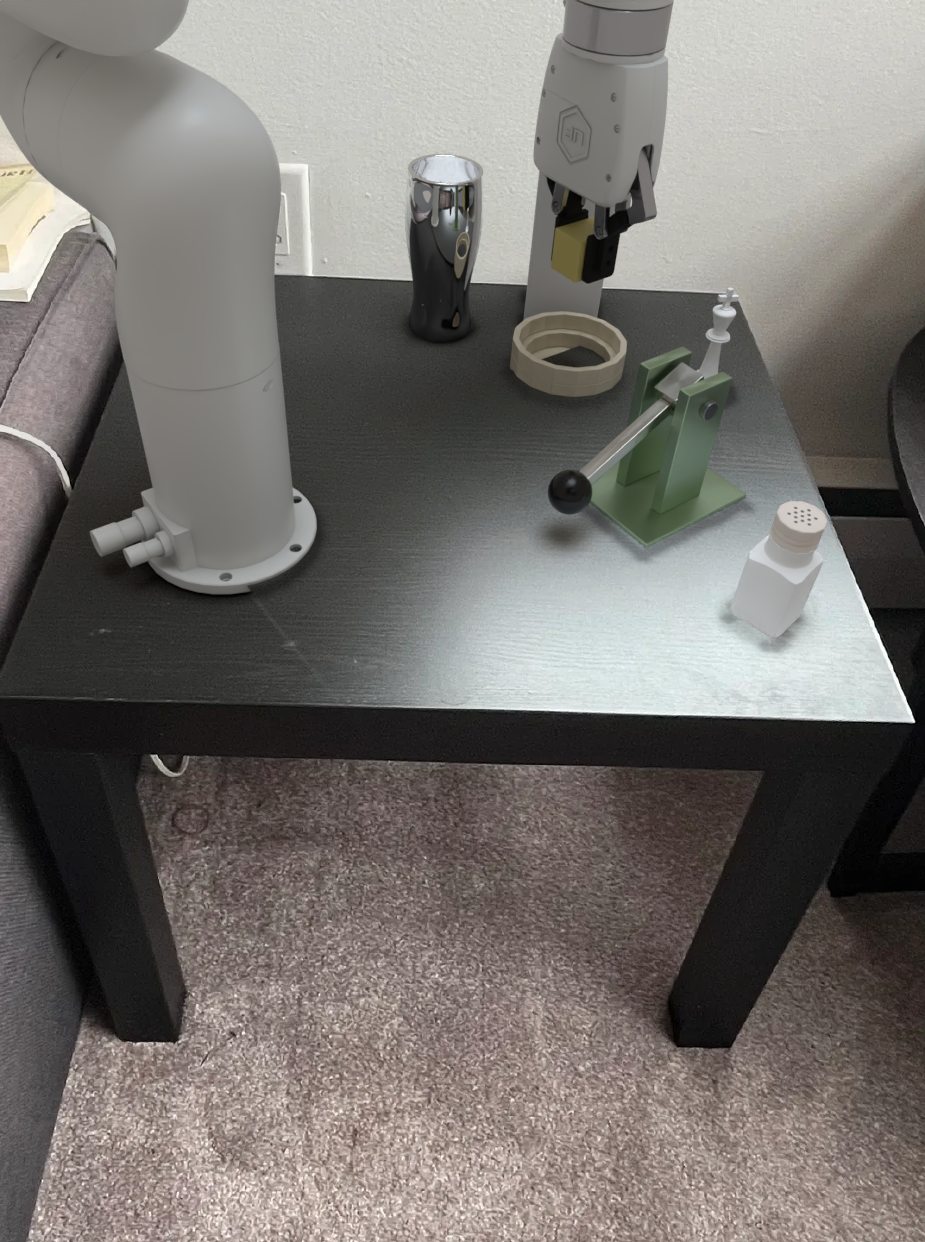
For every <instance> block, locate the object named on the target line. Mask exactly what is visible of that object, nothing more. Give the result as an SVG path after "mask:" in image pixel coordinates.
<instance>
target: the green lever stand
mask: <svg viewBox="0 0 925 1242" xmlns="http://www.w3.org/2000/svg"><path fill="white" fill-rule="evenodd" d="M692 355H693V352H692V351H691V350H690V349H688V348H686V347H685V346H680V347H678V348H675V349H672V350H670V351H667V352H665V353H662V354H660V355H657V356H655V357H652V358H649V359H647V360H645V361H644V360H643V361H642V362H640V363H639V367H638V372H637V375H636V376H637V378H636V381H635V387H634V391H633V395H632V402H631V406H630V411H629V415H628V419H627V424H626V428H627V427H628V426H629V425H630V424H632V423H633V422H634V421H635V420H636V419H637V418H638V417H639V416H640V415H642V414H643V413H644V412H645V411H646V410H647V409H648V408H649V407H650V406H652V405H653V404H654V403H655V402H656V401H657V397H656V393H655V389H654V387H655V386H656V385H657V384H658V383H659V382H660V381H661V380H662V379H663V378H665V377H666V376H667V375H668V374H669V373H670V372H671V371H672V370H673V369H675V368H676V367H677V366H678V365H679V364H680V363H681V362H683V363H684V364H686V365H688V366H689V367H690V362H691V358H692ZM732 382H733V377H732V376H730V375H729V374H728V373H726V372H725V371H721V372H718V374H716V375H713V376H711V377H709V378H706V379H704V380H701V381H699V382H696V383H694V384H692V385H689V386H687V387H684V388H682V389H680V391H679V395H678V399H677V403H676V407H675V411H674V415H673V417H672V416H671V415H669V416H668V417H667V418H666V419H665V420H664V421H662V422H661V423H660V424H659V425H658V426H657V427H656V428H655V429H654V430H653V431H651V432H650V433H649V434H648V435H647V436H646V437H645V438H644V439H643V440H642V441H640V442H639V443H638V444H637V445H636V446H635V447H634V448H633V449H632V450H630V451H629V452H628V453H627V454H626V455H625V456H624V457H623V458H622V459H621V460H619V461H618V462H617V463H616V464H615V465H614V466H613V467H612V468H611V469H609V470H608V471H607V472H606V473H605V474H604V475H603V476H602V477H601V478H600V479H598V480H597V481H596V482H595V483H594V484H593V485H592V498H591V501H590V503H589V504H590V505H592V506H593V507H594V508H595V509H597V510H598V511H599V512H600V513H602V514H603V515H604V516H605V517H606V518H608V519H609V520H610V521H612V522H613V523H614V524H615V525H617V527H619V528H620V529H621V530H623V531H624V532H625V533H626V534H627V535H629V536H630V537H631V538H633V539H634V540H635V541H636V542H638V543H639V544H640V545H641V546H642V547H644V548H646V549H647V548H649V547H651V546H653V545H655V544H657V543H659V542H661V541H663V540H664V539H667V538H670V537H672V536H673V535H675V534H677V533H679V532H681V531H683V530H685V529H687V528H689V527H690V526H692V525H695V524H697V523H699V522H700V521H702V520H704V519H706V518H708V517H710V516H712V515H714V514H716V513H719V512H720V511H722V510H724V509H726V508H728V507H731V506H732V505H734V504H736V503H738V502H740V501H742V500H744V499H746V497H747V494H746V493H745V492H744V491H742V490H741V489H739V488H737V487H736V486H735V485H733V484H732V483H731V482H729V481H728V480H726V479H725V478H724V477H722V476H721V475H719V474H718V473H717V472H716V471H714V470H713V469H711V468H709V467H708V466H709V463H710V460H711V459H710V458H711V455H712V452H713V448H714V445H715V441H716V438H717V434H718V431H719V428H720V423H721V420H722V417H723V413H724V410H725V407H726V403H727V399H728V396H729V392H730V389H731V385H732Z"/></svg>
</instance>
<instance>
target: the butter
mask: <svg viewBox="0 0 925 1242" xmlns="http://www.w3.org/2000/svg"><path fill="white" fill-rule="evenodd" d="M592 234H594V217H591V218H588V219H584V220H581V221H578V222H574V223H571V224H568V225H564V226H561V227H557V228H556V229H555V238H554V246H553V255H552V264H551V268H552V269H554V270H555V271H557V272H559V273H560V274H562V275H563V276H565V277H566V278H568V279H570V280H571V281H573V282H574V283H577V282H580V281H582V272H583V265H584V258H585V251H586V243H587V241H586V240H587V237H588V236H589V235H592Z"/></svg>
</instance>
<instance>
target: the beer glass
mask: <svg viewBox="0 0 925 1242" xmlns="http://www.w3.org/2000/svg"><path fill="white" fill-rule="evenodd" d="M406 180H407V181H406V189H405V200H404V201H405V208H404V223H405V224H404V230H405V240H406V241H405V242H406V248H407V254H408V259H409V264H410V265H409V266H410V272H411V278H412V279H411V280H412V288H413V289H412V302H411V307H410V312H409V316H408V328H409V330H410V332H411V333H412V334H413V335H415V336H416V337H418V338H420V339H422V340H426V341H429V342H433V343H449V342H455V341H459V340H460V339H463V338H464V337H466V336H467V335H468V334H469V333H470V331H471V329H472V319H471V311H470V302H469V301H470V300H469V299H470V297H469V295H470V286H471V282H472V281H471V280H472V278H473V277H472V276H473V272H474V270H475V269H474V268H475V266H476V265H475V264H476V261H477V257H478V253H479V248H480V242H481V237H482V232H483V231H482V230H483V222H484V221H483V220H484V168H483V166H482V165H481V164H480V163H478V162H477V161H476V160H474V159H471V158H469V157H467V156H462V155H457V154H450V153H434V154H433V153H432V154H425V155H421V156H418V157H416V158H414V159H413V160H411V161H410V162H409V164H408V166H407V179H406Z"/></svg>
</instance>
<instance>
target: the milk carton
mask: <svg viewBox="0 0 925 1242" xmlns="http://www.w3.org/2000/svg"><path fill="white" fill-rule="evenodd" d="M536 188H537V189H536V190H537V191H536V195H535V196H536V197H535V199H536V200H535V205H534V206H535V208H534V215H533V216H534V217H533V227H532V236H531V246H530V256H529V263H528V264H529V265H528V274H527V283H526V293H525V301H524V310H523V320H522V321H524V320H525V319H526V318H528V317H531V316H534V315H537V314H540V313H546V312H559V311H566V312H574V313H582V314H587V315H590V316H593V317H596V318H598V315H599V310H600V304H601V298H602V291H603V286H604V280H605V278H604V279H601V280H598V281H595V282H592V283H589V284H587V283H585V282H583V281H580V282H577V283H574V282H573V281H571V280H570V279H568V278H566V277H565V276H563V275H562V274H560V273H559V272H557V271H555V270H554V269H552V268H551V264H552V261H551V255H552V246H553V237H554V229H555V220H556V217H557V215H555V214H554V213H553V211H552V208H551V203H552V198H553V197H552V195H551V192H550V189H549V187H548V184H547V178H545V176H544V175H543V173H541V172H540V171H539V170H538V179H537V187H536ZM582 209H587V210H588V211H589V213H588V216H589V217H588V218H591V217H594V215H595V203H593V202H591V201H589V200H587V199H586V202H585V205H584V207H582ZM614 213H615V205H614V206H612V207H610V216H612V215H613V214H614Z"/></svg>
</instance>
